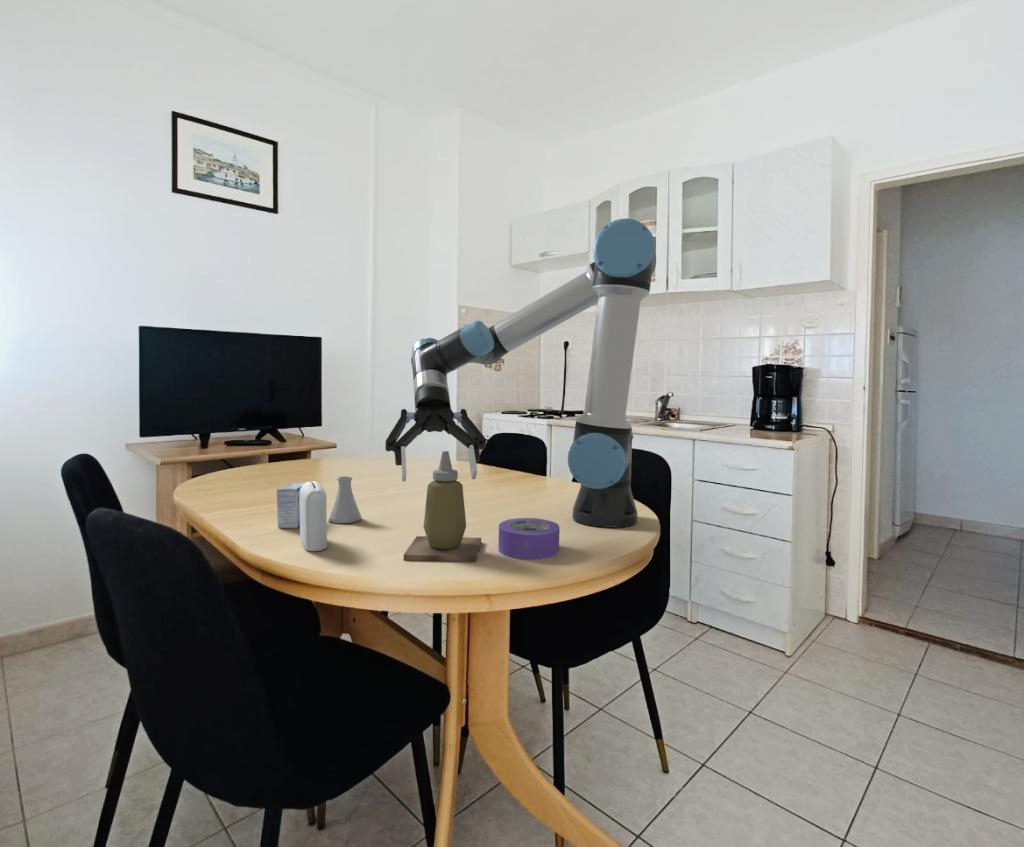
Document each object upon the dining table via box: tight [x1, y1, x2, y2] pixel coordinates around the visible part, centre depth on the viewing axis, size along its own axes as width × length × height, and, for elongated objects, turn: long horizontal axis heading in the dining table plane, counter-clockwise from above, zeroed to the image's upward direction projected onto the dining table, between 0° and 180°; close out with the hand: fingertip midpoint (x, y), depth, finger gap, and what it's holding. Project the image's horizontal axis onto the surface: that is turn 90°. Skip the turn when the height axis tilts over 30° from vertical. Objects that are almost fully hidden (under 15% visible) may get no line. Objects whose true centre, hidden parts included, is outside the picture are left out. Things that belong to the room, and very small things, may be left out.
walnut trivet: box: [403, 535, 482, 563], centre depth 106 cm, size 13×12×1 cm
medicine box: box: [276, 482, 305, 529], centre depth 124 cm, size 8×4×9 cm, turn 179°
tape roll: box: [497, 517, 561, 561], centre depth 108 cm, size 12×12×5 cm
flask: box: [327, 475, 362, 524], centre depth 128 cm, size 7×7×10 cm
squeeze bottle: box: [422, 450, 467, 549], centre depth 106 cm, size 8×8×18 cm
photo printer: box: [299, 480, 328, 552], centre depth 109 cm, size 10×4×12 cm, turn 27°
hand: (439, 476), depth 108 cm, fingers open, 13 cm apart
